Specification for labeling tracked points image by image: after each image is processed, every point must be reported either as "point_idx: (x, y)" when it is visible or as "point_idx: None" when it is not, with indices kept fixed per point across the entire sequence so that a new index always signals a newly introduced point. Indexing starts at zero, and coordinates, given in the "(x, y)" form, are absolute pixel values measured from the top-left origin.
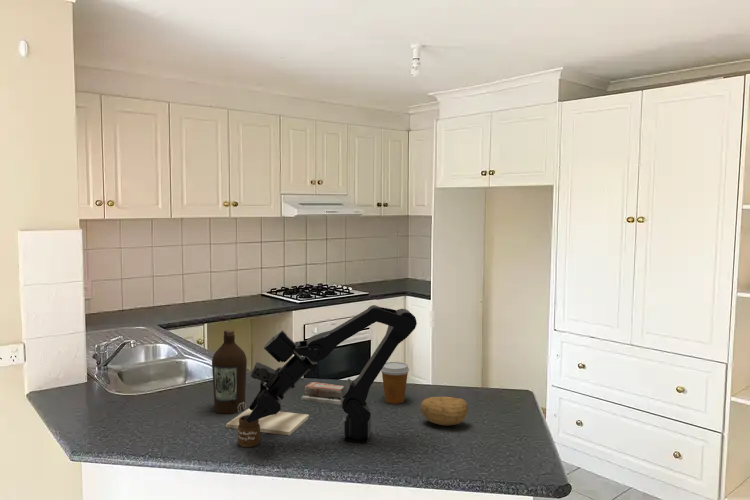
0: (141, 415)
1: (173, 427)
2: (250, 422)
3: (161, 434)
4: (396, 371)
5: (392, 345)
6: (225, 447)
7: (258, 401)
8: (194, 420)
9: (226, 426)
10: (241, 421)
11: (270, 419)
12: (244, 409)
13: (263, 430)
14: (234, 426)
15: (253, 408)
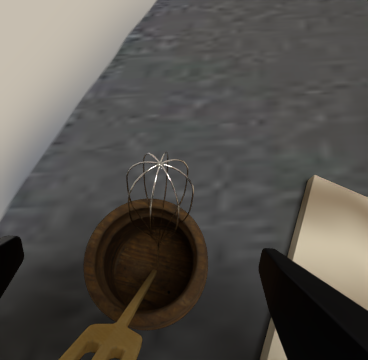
0: (361, 12)
1: (298, 63)
2: (84, 269)
3: (253, 47)
4: None
5: None
6: (138, 188)
7: None
8: (352, 99)
9: (309, 180)
10: (110, 212)
11: None
12: (128, 208)
13: (270, 334)
14: (304, 205)
15: (265, 283)
